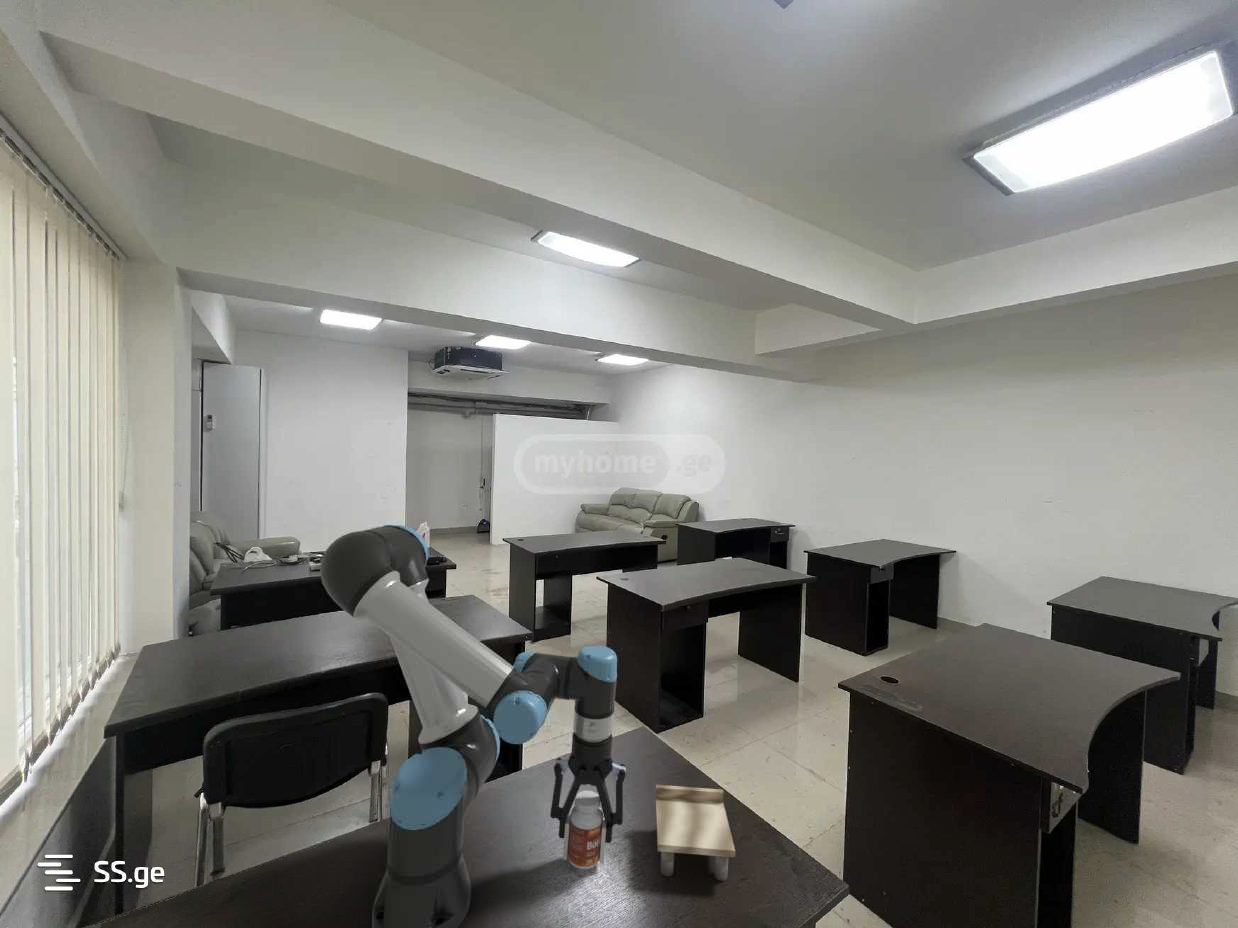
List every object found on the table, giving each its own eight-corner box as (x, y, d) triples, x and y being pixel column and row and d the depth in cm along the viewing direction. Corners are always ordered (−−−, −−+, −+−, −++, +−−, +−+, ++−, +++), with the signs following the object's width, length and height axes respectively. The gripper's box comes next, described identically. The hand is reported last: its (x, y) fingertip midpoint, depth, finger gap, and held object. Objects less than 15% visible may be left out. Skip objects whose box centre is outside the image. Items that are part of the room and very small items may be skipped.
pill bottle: (588, 876, 88) (592, 814, 88) (560, 861, 91) (564, 801, 91) (606, 853, 93) (610, 795, 93) (579, 839, 96) (583, 783, 96)
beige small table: (656, 878, 89) (658, 833, 89) (654, 823, 103) (656, 784, 103) (733, 885, 89) (735, 839, 89) (721, 828, 103) (722, 789, 103)
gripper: (538, 738, 89) (529, 866, 89) (643, 748, 88) (634, 877, 88) (546, 717, 96) (537, 835, 96) (643, 726, 95) (634, 845, 95)
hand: (583, 855), depth 92 cm, fingers closed on pill bottle, 6 cm apart
